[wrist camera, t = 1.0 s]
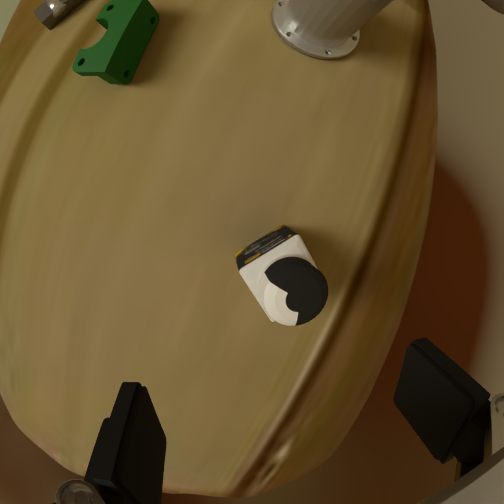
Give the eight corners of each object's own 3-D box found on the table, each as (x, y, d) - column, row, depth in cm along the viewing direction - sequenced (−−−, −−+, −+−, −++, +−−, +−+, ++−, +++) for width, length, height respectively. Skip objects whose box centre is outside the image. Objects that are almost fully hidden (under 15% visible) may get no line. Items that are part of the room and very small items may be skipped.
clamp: (130, 39, 30) (115, -6, 22) (164, 40, 30) (152, -10, 21) (83, 95, 28) (54, 48, 19) (117, 97, 28) (90, 44, 19)
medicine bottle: (282, 223, 35) (316, 243, 24) (308, 270, 37) (347, 307, 26) (233, 254, 36) (243, 288, 24) (262, 299, 37) (283, 347, 26)
